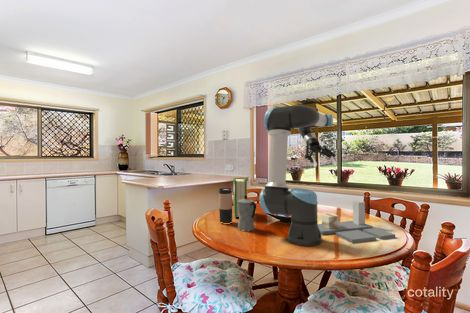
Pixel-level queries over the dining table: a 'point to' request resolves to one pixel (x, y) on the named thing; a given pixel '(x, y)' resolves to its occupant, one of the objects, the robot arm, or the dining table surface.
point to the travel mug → (225, 205)
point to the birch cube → (330, 221)
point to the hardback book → (239, 192)
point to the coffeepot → (246, 214)
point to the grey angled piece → (356, 224)
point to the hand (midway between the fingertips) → (326, 165)
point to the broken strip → (364, 235)
